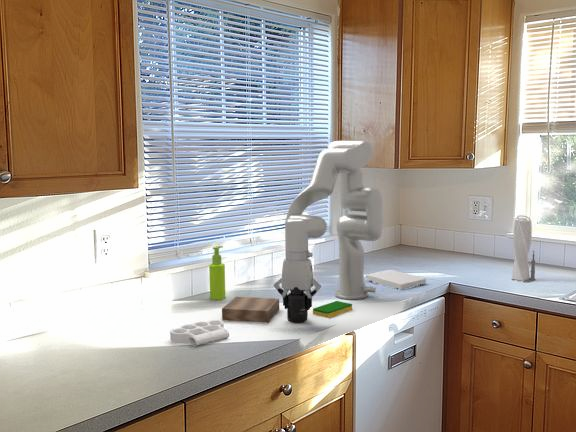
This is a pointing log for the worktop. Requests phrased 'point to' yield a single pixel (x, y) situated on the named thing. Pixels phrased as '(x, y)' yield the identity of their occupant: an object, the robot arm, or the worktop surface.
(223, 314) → the stand
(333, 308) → the dish sponge
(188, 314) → the worktop surface
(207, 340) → the white compartment tray
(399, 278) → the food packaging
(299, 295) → the supplement bottle
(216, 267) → the soap dispenser
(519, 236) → the paper towel holder
